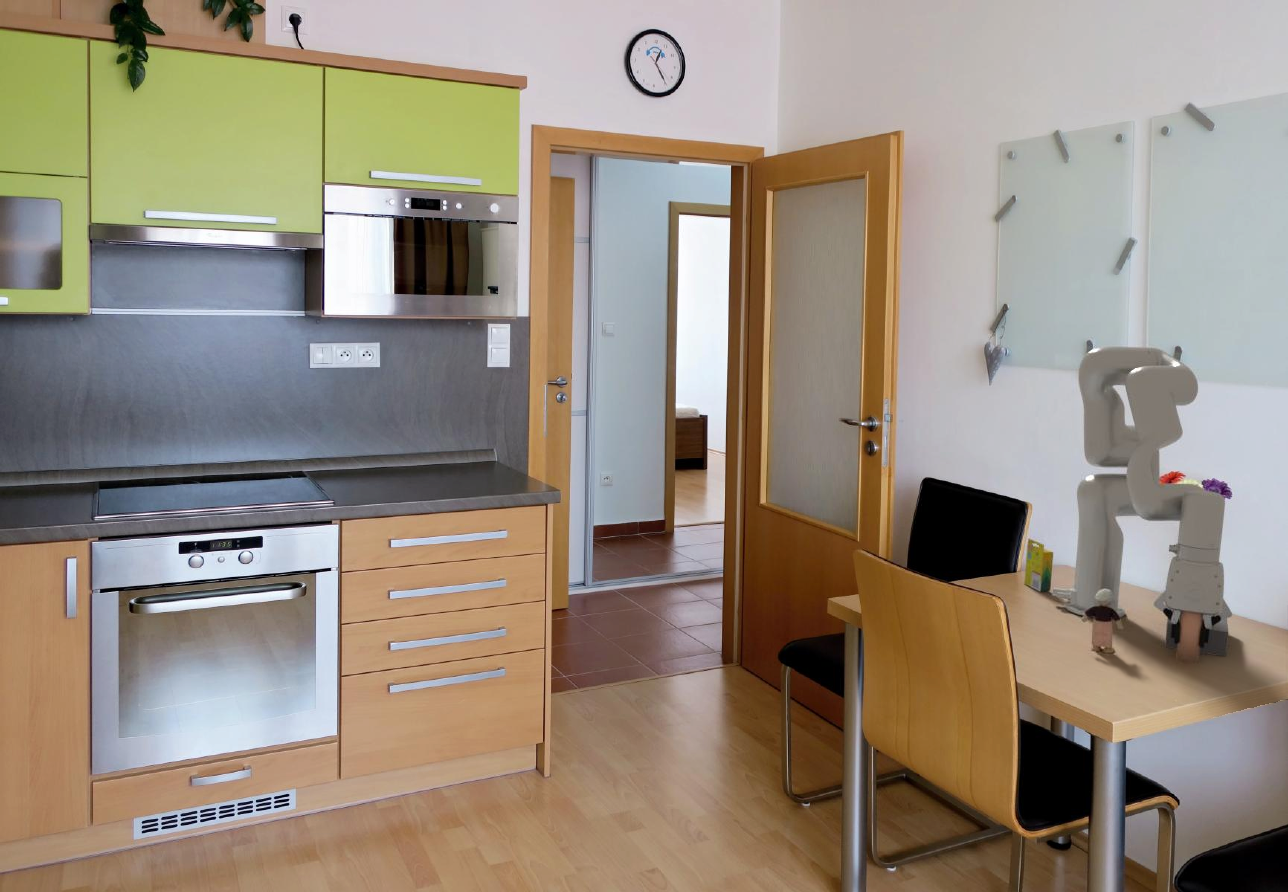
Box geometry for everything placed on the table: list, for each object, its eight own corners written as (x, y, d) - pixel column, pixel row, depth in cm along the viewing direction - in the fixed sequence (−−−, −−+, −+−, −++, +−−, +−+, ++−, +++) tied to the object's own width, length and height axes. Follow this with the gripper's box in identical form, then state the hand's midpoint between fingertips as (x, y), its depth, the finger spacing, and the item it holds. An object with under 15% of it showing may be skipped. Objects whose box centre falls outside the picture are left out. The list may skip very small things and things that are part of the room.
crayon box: (1050, 591, 263) (1054, 544, 262) (1039, 592, 263) (1043, 545, 261) (1034, 583, 270) (1038, 537, 269) (1023, 583, 270) (1027, 538, 268)
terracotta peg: (1175, 660, 216) (1181, 606, 214) (1176, 654, 219) (1181, 601, 218) (1198, 663, 214) (1204, 609, 212) (1198, 657, 218) (1203, 604, 216)
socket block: (1165, 646, 224) (1167, 623, 223) (1166, 623, 240) (1169, 601, 239) (1225, 656, 219) (1228, 632, 218) (1223, 631, 235) (1225, 609, 234)
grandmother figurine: (1119, 649, 222) (1124, 588, 220) (1120, 654, 218) (1126, 593, 216) (1078, 644, 224) (1083, 584, 222) (1079, 649, 220) (1084, 589, 219)
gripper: (1150, 552, 214) (1141, 642, 217) (1247, 563, 207) (1237, 656, 209) (1151, 544, 221) (1143, 631, 223) (1245, 555, 213) (1235, 645, 216)
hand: (1188, 642), depth 216 cm, fingers closed on terracotta peg, 4 cm apart
